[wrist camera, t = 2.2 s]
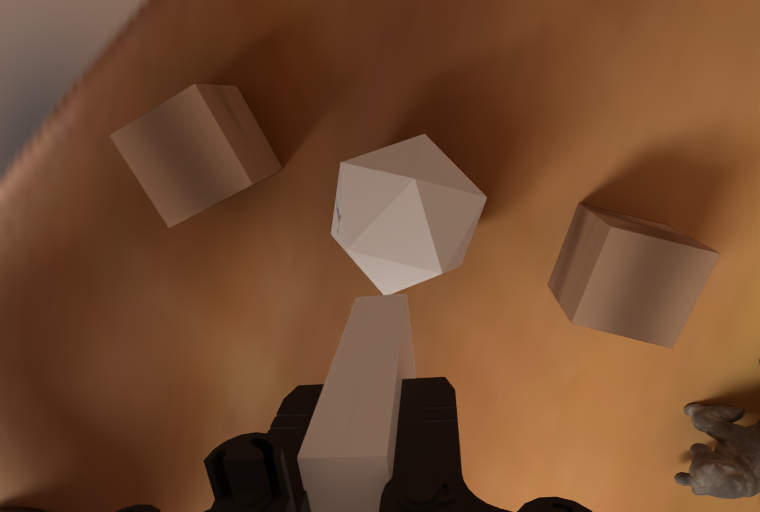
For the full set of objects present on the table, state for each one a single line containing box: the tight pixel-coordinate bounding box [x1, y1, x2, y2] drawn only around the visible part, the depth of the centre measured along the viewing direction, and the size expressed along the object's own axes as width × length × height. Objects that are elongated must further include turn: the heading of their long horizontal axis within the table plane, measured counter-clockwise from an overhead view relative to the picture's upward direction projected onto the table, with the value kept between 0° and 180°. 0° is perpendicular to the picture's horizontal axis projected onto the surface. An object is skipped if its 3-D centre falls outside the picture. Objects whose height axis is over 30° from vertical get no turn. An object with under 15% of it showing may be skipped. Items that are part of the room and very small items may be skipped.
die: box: [331, 134, 487, 295], centre depth 29 cm, size 8×9×10 cm
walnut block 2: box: [548, 203, 720, 349], centre depth 29 cm, size 6×6×6 cm
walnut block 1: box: [109, 84, 283, 228], centre depth 30 cm, size 6×6×6 cm
